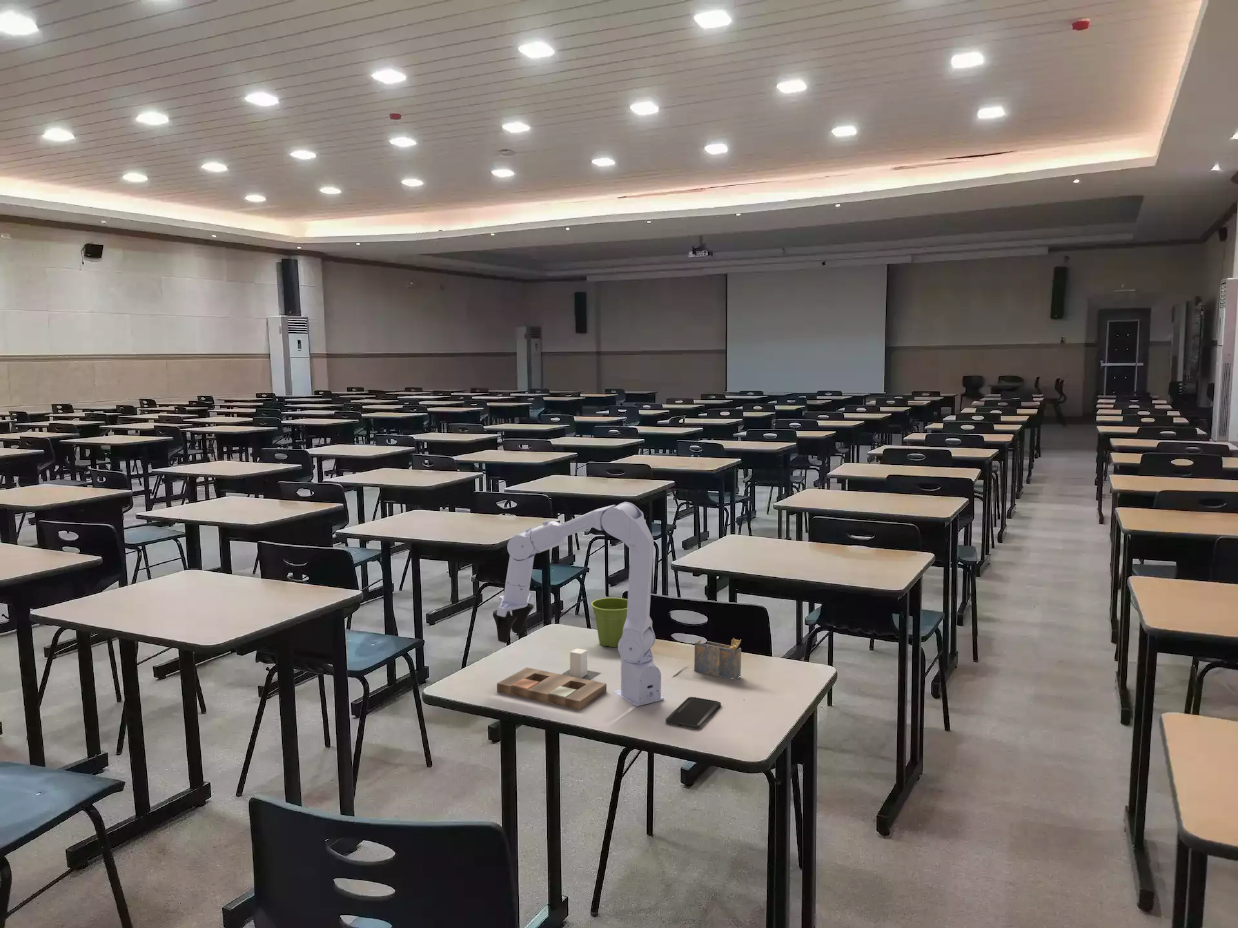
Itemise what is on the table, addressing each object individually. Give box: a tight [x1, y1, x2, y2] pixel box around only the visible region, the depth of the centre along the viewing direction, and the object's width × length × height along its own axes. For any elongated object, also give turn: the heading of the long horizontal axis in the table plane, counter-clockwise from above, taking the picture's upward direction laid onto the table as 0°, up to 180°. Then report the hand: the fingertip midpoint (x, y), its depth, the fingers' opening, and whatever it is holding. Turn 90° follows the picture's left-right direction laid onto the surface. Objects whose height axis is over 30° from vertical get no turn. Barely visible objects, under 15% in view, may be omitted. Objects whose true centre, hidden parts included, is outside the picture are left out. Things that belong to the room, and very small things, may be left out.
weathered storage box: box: [693, 637, 742, 680], centre depth 206 cm, size 11×3×10 cm, turn 57°
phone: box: [665, 696, 722, 731], centre depth 182 cm, size 8×1×15 cm
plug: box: [569, 647, 588, 678], centre depth 203 cm, size 3×3×6 cm
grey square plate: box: [561, 669, 602, 681], centre depth 203 cm, size 8×8×1 cm
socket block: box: [496, 667, 607, 711], centre depth 192 cm, size 22×12×3 cm, turn 62°
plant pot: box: [590, 597, 628, 648], centre depth 228 cm, size 12×12×11 cm
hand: (509, 636), depth 200 cm, fingers open, 7 cm apart
